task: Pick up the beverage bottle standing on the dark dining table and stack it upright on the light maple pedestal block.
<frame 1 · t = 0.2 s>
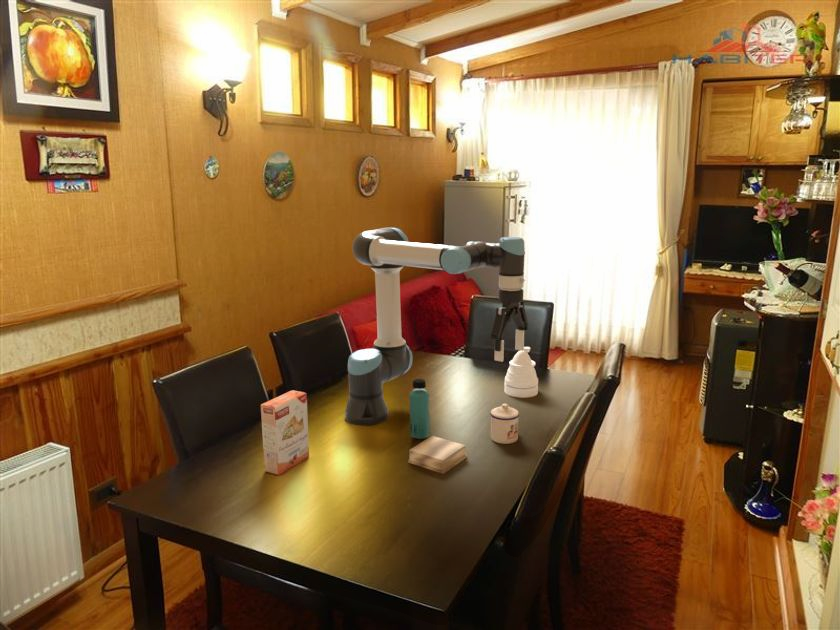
hand: (509, 355, 195), 28 cm above the table, fingers open, 13 cm apart
beverage bottle: (420, 439, 201), on the table
honey pot: (521, 392, 242), on the table
cracker box: (288, 464, 185), on the table
teacup with lid: (505, 437, 202), on the table
pedestal: (437, 459, 187), on the table
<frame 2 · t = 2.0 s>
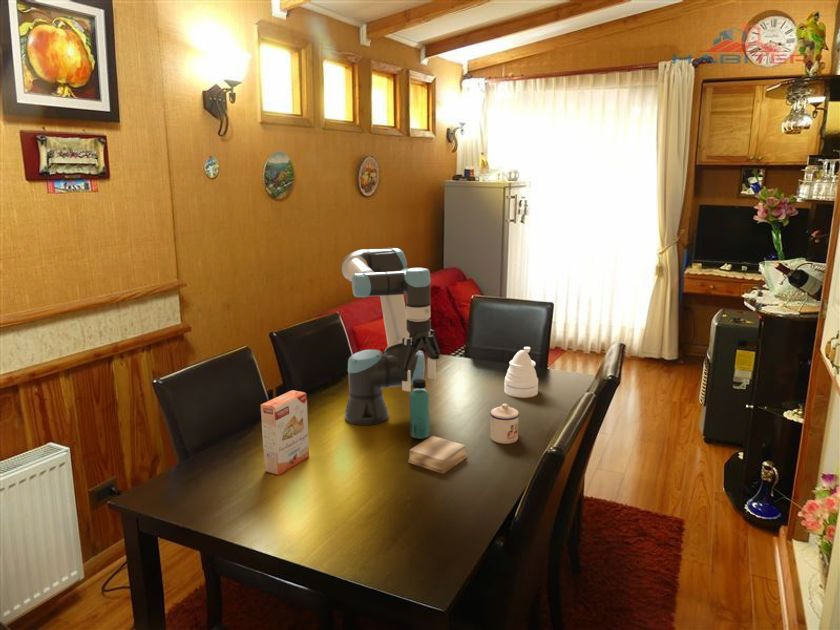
hand: (419, 384, 197), 19 cm above the table, fingers open, 13 cm apart
nothing on the table moved.
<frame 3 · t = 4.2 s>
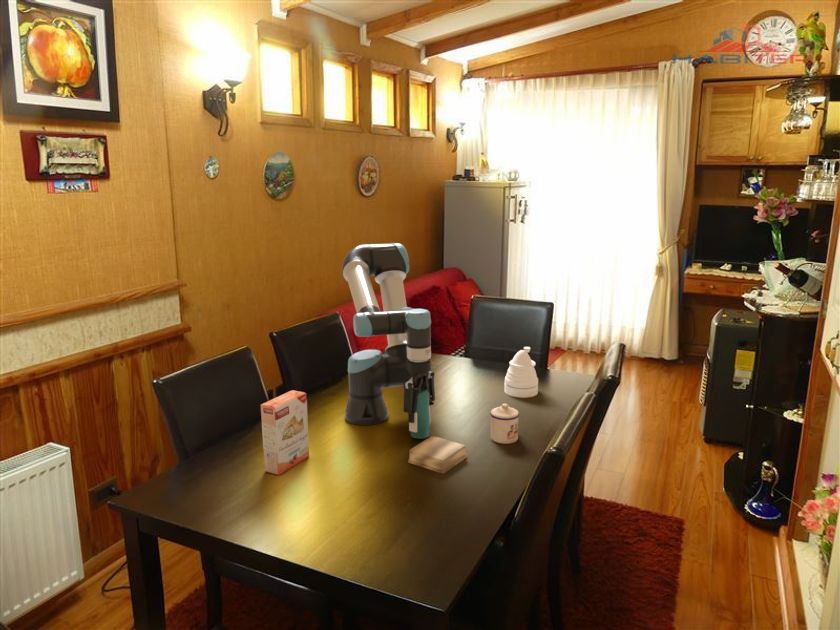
hand: (419, 427, 200), 4 cm above the table, fingers closed on beverage bottle, 6 cm apart
beverage bottle: (420, 439, 201), on the table, touching gripper
everything else where it was.
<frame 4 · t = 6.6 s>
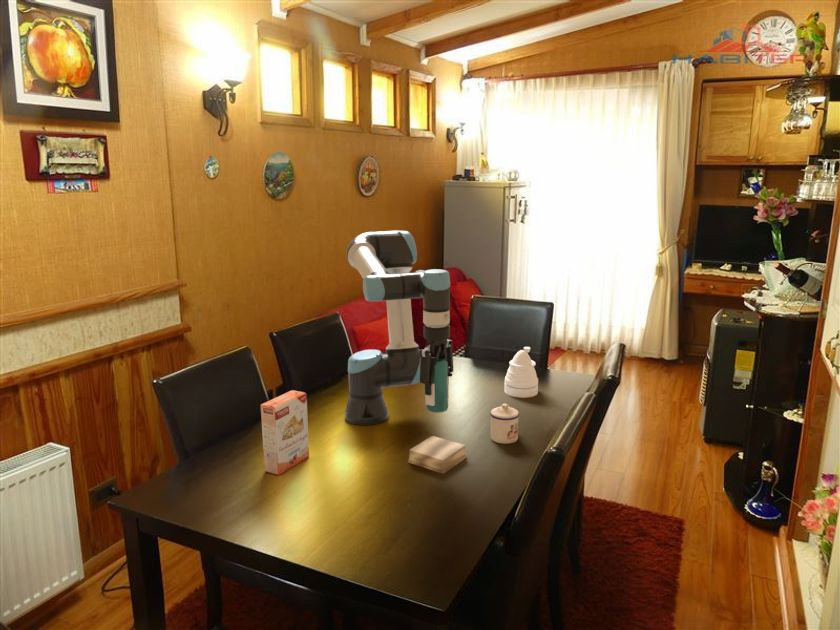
hand: (437, 400, 182), 19 cm above the table, fingers closed on beverage bottle, 6 cm apart
beverage bottle: (437, 414, 183), point 15 cm above the table, touching gripper
everything else where it was.
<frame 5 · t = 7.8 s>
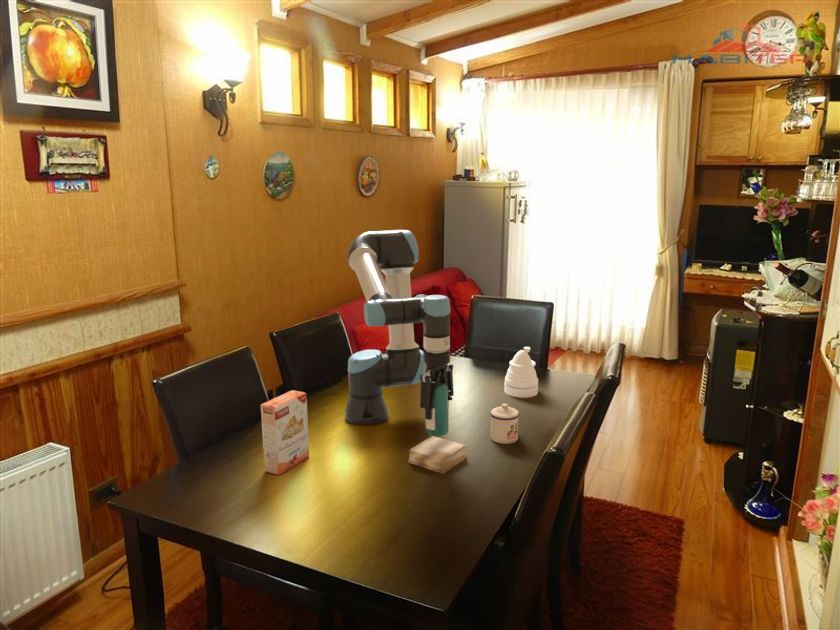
hand: (437, 424, 184), 11 cm above the table, fingers closed on beverage bottle, 6 cm apart
beverage bottle: (437, 437, 185), point 7 cm above the table, touching gripper
everything else where it was.
when the fingers open (9 cm above the table, at t = 9.0 s): beverage bottle stays where it is, resting on pedestal.
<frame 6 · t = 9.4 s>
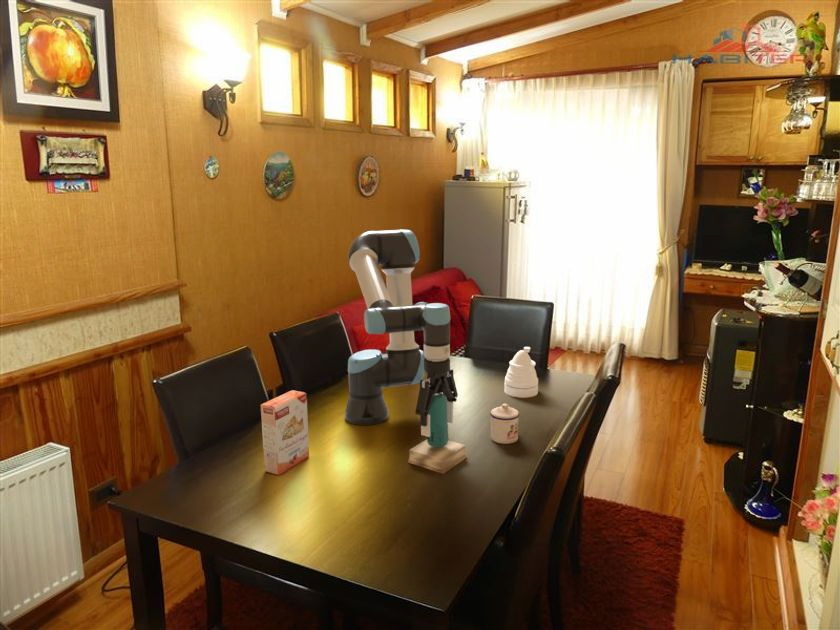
hand: (437, 428, 184), 10 cm above the table, fingers open, 11 cm apart
beverage bottle: (437, 447, 186), point 4 cm above the table, touching pedestal
everything else where it was.
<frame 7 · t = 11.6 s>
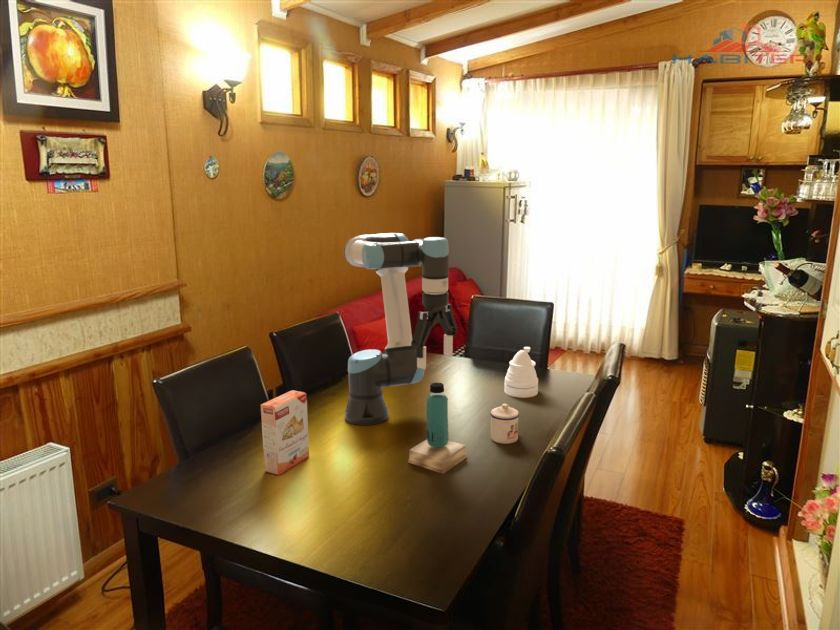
hand: (435, 361, 185), 29 cm above the table, fingers open, 13 cm apart
nothing on the table moved.
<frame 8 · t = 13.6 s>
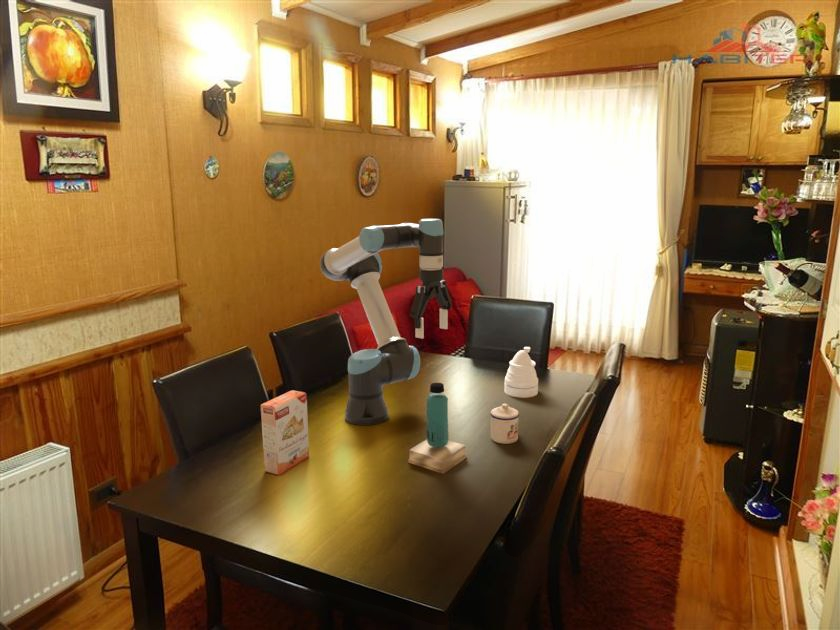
hand: (431, 333, 203), 33 cm above the table, fingers open, 13 cm apart
nothing on the table moved.
at the end: beverage bottle 0.1 cm from the pedestal (horizontally); beverage bottle point 3.8 cm above the table; beverage bottle tilted 0° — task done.
